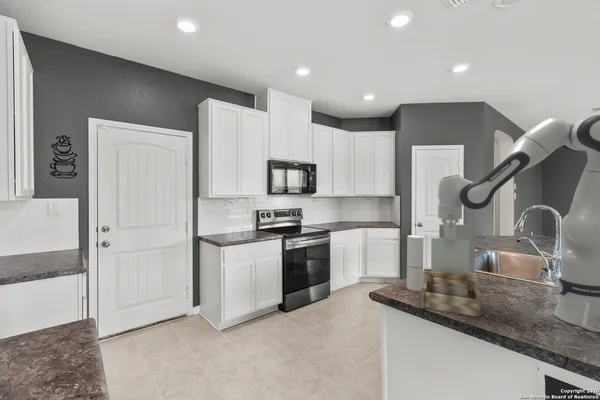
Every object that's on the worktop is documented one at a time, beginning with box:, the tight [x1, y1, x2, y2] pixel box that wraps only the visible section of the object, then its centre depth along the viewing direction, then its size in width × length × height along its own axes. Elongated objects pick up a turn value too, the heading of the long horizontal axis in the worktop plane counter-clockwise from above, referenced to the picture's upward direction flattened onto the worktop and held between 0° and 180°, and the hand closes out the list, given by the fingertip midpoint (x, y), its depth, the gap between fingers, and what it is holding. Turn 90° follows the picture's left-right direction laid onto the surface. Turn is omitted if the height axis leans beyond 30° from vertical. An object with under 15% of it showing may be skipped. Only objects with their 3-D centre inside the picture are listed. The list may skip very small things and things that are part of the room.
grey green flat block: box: [430, 237, 469, 276], centre depth 119 cm, size 14×2×24 cm, turn 64°
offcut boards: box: [433, 271, 468, 298], centre depth 113 cm, size 12×6×13 cm, turn 64°
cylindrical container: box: [406, 234, 425, 292], centre depth 134 cm, size 7×7×25 cm
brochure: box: [438, 223, 476, 274], centre depth 136 cm, size 14×6×30 cm, turn 84°
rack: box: [421, 267, 482, 318], centre depth 115 cm, size 20×16×12 cm
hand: (449, 246), depth 118 cm, fingers closed on grey green flat block, 2 cm apart
